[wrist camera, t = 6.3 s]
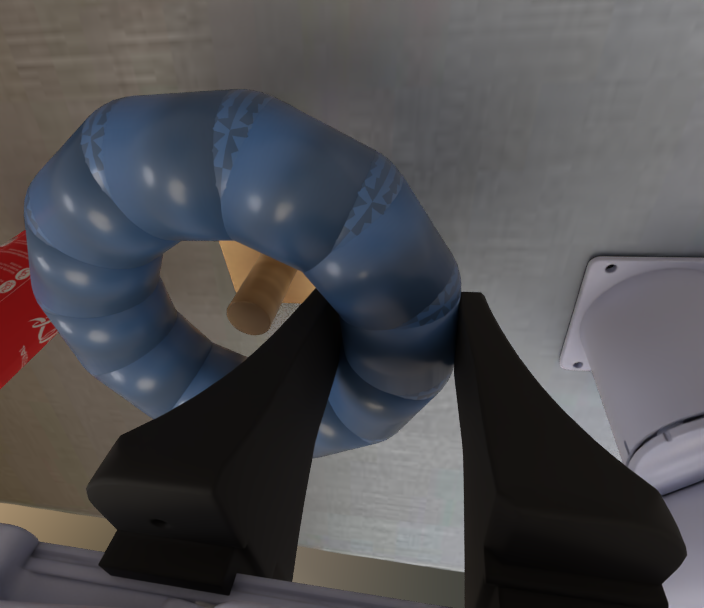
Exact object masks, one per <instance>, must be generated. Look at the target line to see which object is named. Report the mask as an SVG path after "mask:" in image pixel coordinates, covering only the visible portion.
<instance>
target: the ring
mask: <svg viewBox="0 0 704 608" xmlns="http://www.w3.org/2000/svg"><path fill="white" fill-rule="evenodd" d="M24 219H25V229H26V239H27V249H28V259H29V268H30V278H31V286H32V290H33V294H34V296H35V298H36V300H37V303H38V304H39V305H40V307H41V309H42V310H43V311H44V313H45V314H46V316H47V317H48V318H49V320H50V321H51V323H52V324H53V325H54V327H55V328H56V329H57V331H58V332H59V334H60V335H61V336H62V338H63V339H64V341H65V342H66V343H67V345H68V346H69V347H70V349H71V350H72V352H73V353H74V354H75V356H76V357H77V359H78V360H79V361H80V363H81V364H82V365H83V367H84V368H85V369H86V370H87V371H88V372H89V373H90V374H91V375H92V376H94V377H95V378H96V379H98V380H99V381H101V382H102V383H103V384H105V385H106V386H108V387H109V388H110V389H112V390H113V391H115V392H116V393H117V394H119V395H120V396H121V397H123V398H124V399H126V400H127V401H128V402H130V403H131V404H133V405H134V406H135V407H137V408H138V409H140V410H141V411H142V412H144V413H145V414H147V415H148V416H149V417H151V418H152V419H156V418H158V417H159V416H161V415H163V414H165V413H167V412H169V411H171V410H172V409H174V408H176V407H178V406H179V405H181V404H183V403H185V402H186V401H188V400H189V399H191V398H193V397H194V396H196V395H198V394H199V393H201V392H202V391H204V390H205V389H207V388H208V387H210V386H211V385H212V384H214V383H215V382H217V381H218V380H220V379H221V378H223V377H224V376H226V375H227V374H228V373H230V372H231V371H232V370H234V369H235V368H236V367H237V366H239V365H240V364H241V363H242V362H244V361H245V360H246V359H247V358H248V357H246V356H243V355H241V354H239V353H236V352H234V351H232V350H229V349H227V348H224V347H222V346H220V345H217V344H215V343H213V342H211V341H210V340H209V339H208V338H207V337H206V336H205V335H204V334H202V333H201V332H200V331H199V330H198V329H197V328H196V327H195V326H193V325H192V324H191V323H190V322H189V321H188V320H187V319H186V318H184V317H183V316H182V315H181V314H180V313H179V312H178V311H177V310H176V309H175V307H174V305H173V303H172V301H171V299H170V296H169V294H168V292H167V290H166V288H165V286H164V284H163V281H162V279H161V277H160V269H161V263H162V258H163V253H164V252H166V251H167V250H169V249H170V248H172V247H173V246H175V245H176V244H177V243H179V242H180V241H236V242H239V243H241V244H243V245H245V246H247V247H249V248H251V249H254V250H256V251H258V252H260V253H262V254H264V255H267V256H269V257H271V258H273V259H275V260H277V261H280V262H282V263H284V264H286V265H288V266H290V267H292V268H295V269H297V270H299V271H301V272H303V274H304V275H305V276H306V277H307V278H308V279H309V281H310V282H311V283H312V284H313V285H314V286H315V287H316V289H317V290H318V291H319V292H320V293H321V294H322V295H323V297H324V298H325V299H326V300H327V301H328V302H329V303H330V305H331V306H332V307H333V308H334V309H335V310H336V312H337V313H338V314H339V319H340V326H341V332H342V339H343V340H342V343H341V347H340V353H339V362H338V368H337V372H336V375H335V378H334V382H333V385H332V388H331V392H330V395H329V398H328V401H327V405H326V408H325V411H324V414H323V418H322V421H321V424H320V427H319V431H318V435H317V439H316V442H315V447H314V452H313V458H319V457H323V456H327V455H331V454H335V453H339V452H343V451H348V450H352V449H356V448H360V447H364V446H368V445H372V444H376V443H379V442H382V441H384V440H387V439H389V438H390V437H392V436H393V435H394V434H396V433H397V432H398V431H399V430H400V429H401V428H402V427H403V426H405V425H406V424H407V423H408V422H409V421H410V420H411V419H412V418H413V417H414V416H415V415H416V414H417V413H418V412H419V411H420V410H421V409H422V408H423V407H424V406H425V405H426V404H427V403H428V402H429V401H430V400H432V399H433V398H434V397H435V396H436V395H437V394H438V393H439V392H440V391H441V390H442V388H443V387H444V386H445V384H446V383H447V382H448V380H449V378H450V376H451V373H452V371H453V368H454V360H455V349H456V337H457V326H458V315H459V304H460V298H461V277H460V273H459V269H458V265H457V263H456V261H455V259H454V257H453V255H452V253H451V251H450V250H449V248H448V247H447V245H446V243H445V242H444V240H443V239H442V237H441V235H440V234H439V232H438V231H437V229H436V228H435V226H434V224H433V223H432V221H431V220H430V218H429V216H428V215H427V213H426V212H425V210H424V209H423V207H422V205H421V204H420V202H419V201H418V199H417V197H416V196H415V194H414V193H413V191H412V190H411V188H410V186H409V185H408V183H407V182H406V180H405V178H404V177H403V175H402V174H401V173H400V172H399V170H398V169H397V167H396V166H395V165H394V164H393V163H392V162H391V161H390V160H389V159H388V158H386V157H385V156H384V155H382V154H381V153H379V152H377V151H376V150H374V149H372V148H370V147H368V146H367V145H365V144H363V143H361V142H359V141H357V140H355V139H353V138H351V137H350V136H348V135H346V134H344V133H342V132H340V131H338V130H336V129H334V128H332V127H331V126H329V125H327V124H325V123H323V122H321V121H319V120H317V119H315V118H313V117H312V116H310V115H308V114H306V113H304V112H302V111H300V110H298V109H296V108H295V107H293V106H291V105H289V104H287V103H285V102H283V101H281V100H279V99H277V98H275V97H273V96H271V95H269V94H265V93H263V92H258V91H254V90H247V89H230V90H215V91H200V92H185V93H170V94H155V95H140V96H130V97H123V98H120V99H116V100H113V101H111V102H109V103H106V104H104V105H103V106H101V107H100V108H98V109H97V110H95V111H94V112H93V113H92V114H91V115H90V116H89V117H88V118H87V119H86V120H85V121H84V122H83V124H82V125H81V126H80V127H79V128H78V129H77V130H76V131H75V132H74V134H73V135H72V136H71V137H70V138H69V139H68V140H67V141H66V142H65V144H64V145H63V146H62V147H61V148H60V149H59V150H58V151H57V152H56V154H55V155H54V156H53V157H52V158H51V159H50V160H49V161H48V162H47V164H46V165H45V166H44V167H43V168H42V169H41V170H40V171H39V172H38V174H37V175H36V176H35V178H34V179H33V181H32V182H31V183H30V186H29V188H28V190H27V193H26V197H25V201H24Z"/></svg>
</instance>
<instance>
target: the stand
mask: <svg viewBox="0 0 704 608" xmlns="http://www.w3.org/2000/svg"><path fill="white" fill-rule="evenodd" d="M219 243H220V246H221V249H222V252H223V255H224V258H225V261H226V264H227V267H228V270H229V273H230V276H231V279H232V282H233V285H234V288H235V291H236V295H235V296H234V298H233V300H232V301H231V303H230V305H229V306H228V308H227V317H228V319H229V321H230V323H231V324H232V325H233V326H234V327H235V328H236V329H238V330H239V331H241V332H243V333H246V334H250V335H260V334H263V333H265V332H267V331H268V330H269V328H270V327H271V324H272V322H273V320H274V318H275V316H276V314H277V312H278V310H279V308H280V306H281V303H303V302H304V300H305V299H306V298H307V297H308V296H309V295H310V294H311V292H312V291H313V290H314V289H315V288H316V287H315V286H314V285H313V284H312V283H311V282H310V281H309V279H308V278H307V277H306V276H305V275H304V274H303V272H301V271H299V270H297V269H295V268H292V267H290V266H288V265H286V264H284V263H282V262H280V261H277V260H275V259H273V258H271V257H269V256H267V255H264V254H262V253H260V252H258V251H256V250H254V249H251V248H249V247H247V246H245V245H243V244H241V243H239V242H236V241H219Z"/></svg>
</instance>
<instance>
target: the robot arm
mask: <svg viewBox="0 0 704 608" xmlns="http://www.w3.org/2000/svg"><path fill="white" fill-rule="evenodd" d="M612 264H614V266H613V267H612V268H609V269H606V267H607V266H608V265H612ZM342 340H343V339H342V332H341V326H340V319H339V314H338V313H337V312H336V310H335V309H334V308H333V307H332V306H331V305H330V303H329V302H328V301H327V300H326V299H325V298H324V297H323V295H322V294H321V293H320V292H319V291H318V290H317V289H316V288H315V289H314V290H313V291H312V292H311V294H310V295H309V296H308V297H307V298H306V299H305V300H304V302H303V303H302V304H301V305H300V306H299V307H298V308H297V309H296V311H295V312H294V313H293V314H292V315H291V316H290V317H289V318H288V319H287V320H286V321H285V322H284V324H283V325H282V326H281V327H280V328H279V329H278V330H277V331H276V332H275V333H274V334H273V335H272V336H271V337H270V338H269V339H268V340H267V341H266V342H265V343H264V344H262V345H261V346H260V347H259V348H258V349H257V350H256V351H255V352H254V353H253V354H252V355H251V356H249V357H248V358H247V359H246V360H245V361H244V362H242V363H241V364H240V365H239V366H237V367H236V368H235V369H234V370H232V371H231V372H230V373H228V374H227V375H226V376H224V377H223V378H221V379H220V380H218V381H217V382H215V383H214V384H212V385H211V386H210V387H208V388H207V389H205V390H204V391H202V392H201V393H199V394H198V395H196V396H194V397H193V398H191V399H189V400H188V401H186V402H185V403H183V404H181V405H179V406H178V407H176V408H174V409H172V410H171V411H169V412H167V413H165V414H163V415H161V416H159V417H158V418H156V419H154V420H151V421H149V422H147V423H145V424H143V425H141V426H139V427H137V428H135V429H133V430H131V431H129V432H127V433H125V434H123V435H121V436H120V437H119V438H118V440H117V441H116V443H115V444H114V446H113V447H112V448H111V450H110V451H109V453H108V454H107V456H106V457H105V459H104V461H103V462H102V464H101V465H100V467H99V468H98V470H97V471H96V473H95V474H94V476H93V477H92V479H91V480H90V482H89V483H88V486H87V488H86V491H87V495H88V498H89V500H90V502H91V503H92V504H93V506H94V507H95V508H96V509H97V510H98V511H99V512H100V513H101V514H102V515H103V516H104V517H105V518H106V519H107V520H108V521H109V522H110V523H111V524H112V525H113V526H114V527H115V528H116V529H117V532H116V533H115V535H114V537H113V539H112V541H111V542H110V544H109V546H108V548H107V550H106V551H105V552H101V551H94V550H88V549H82V548H76V547H70V546H63V545H57V544H51V543H44V542H39V541H38V539H37V538H36V537H35V536H34V535H33V534H31V533H30V532H28V531H27V530H25V529H23V528H21V527H18V526H15V525H10V524H4V523H0V608H451V607H444V606H438V605H432V604H426V603H420V602H413V601H407V600H401V599H394V598H388V597H382V596H376V595H369V594H363V593H357V592H351V591H344V590H339V589H332V588H326V587H320V586H314V585H307V584H300V583H295V582H292V579H293V572H294V565H295V558H296V551H297V544H298V538H299V531H300V525H301V519H302V513H303V507H304V501H305V495H306V490H307V484H308V479H309V473H310V468H311V463H312V458H313V452H314V447H315V442H316V439H317V435H318V431H319V427H320V424H321V421H322V418H323V414H324V411H325V408H326V405H327V401H328V398H329V395H330V392H331V388H332V385H333V382H334V378H335V375H336V372H337V368H338V362H339V353H340V347H341V343H342ZM576 362H579V363H576ZM559 363H560V366H561V368H563V369H567V370H581V371H592V374H593V377H594V380H595V383H596V386H597V388H598V391H599V394H600V397H601V400H602V403H603V406H604V409H605V412H606V415H607V418H608V421H609V424H610V427H611V430H612V433H613V436H614V438H615V441H616V444H617V447H618V450H619V453H620V456H621V459H622V462H623V463H621V462H620V461H619V460H617V459H616V458H615V457H614V456H613V455H611V454H610V453H609V452H608V451H607V450H605V449H604V448H603V447H602V446H601V445H600V444H598V443H597V442H596V441H595V440H594V439H593V438H592V437H591V436H590V435H589V434H588V433H586V432H585V431H584V430H583V429H582V428H581V427H580V426H579V425H578V424H577V423H576V422H575V421H574V420H573V419H572V418H571V417H570V416H569V415H568V414H567V413H566V412H565V411H564V410H563V409H562V408H561V407H560V406H559V405H558V404H557V403H556V402H555V401H554V400H553V399H552V398H551V396H550V395H549V394H548V393H547V392H546V391H545V390H544V388H543V387H542V386H541V385H540V384H539V383H538V381H537V380H536V379H535V378H534V376H533V375H532V374H531V372H530V371H529V370H528V369H527V367H526V366H525V364H524V363H523V362H522V360H521V359H520V358H519V356H518V355H517V353H516V352H515V350H514V349H513V347H512V346H511V344H510V343H509V341H508V340H507V338H506V336H505V335H504V333H503V332H502V330H501V328H500V326H499V325H498V323H497V321H496V319H495V317H494V316H493V314H492V312H491V310H490V308H489V306H488V303H487V301H486V299H485V296H484V295H483V294H482V293H481V292H461V298H460V304H459V315H458V326H457V337H456V349H455V360H454V377H455V386H456V395H457V403H458V411H459V420H460V428H461V437H462V447H463V471H464V545H465V608H704V258H691V257H610V256H600V257H595V258H593V259H592V260H591V261H589V263H588V265H587V268H586V272H585V275H584V279H583V282H582V285H581V289H580V292H579V295H578V299H577V302H576V305H575V309H574V312H573V315H572V319H571V322H570V325H569V329H568V332H567V335H566V339H565V342H564V345H563V349H562V352H561V355H560V359H559Z"/></svg>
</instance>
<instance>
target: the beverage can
mask: <svg viewBox="0 0 704 608" xmlns="http://www.w3.org/2000/svg"><path fill="white" fill-rule="evenodd" d="M57 333H58V331H57V329H56V328H55V327H54V325H53V324H52V323H51V321H50V320H49V318H48V317H47V316H46V314H45V313H44V311H43V310H42V309H41V307H40V305H39V304H38V303H37V300H36V298H35V296H34V294H33V290H32V286H31V278H30V268H29V259H28V249H27V239H26V230H24V231H23V232H21V233H20V234H18V235H17V236H15V237H14V238H12V239H11V240H9V241H8V242H6V243H5V244H3V245H2V246H0V389H1V388H2V387H3V386H4V385H5V384H6V383H7V382H8V381H9V380H10V379H11V378H12V377H13V376H14V375H15V374H16V373H17V372H18V371H19V370H20V369H21V368H22V367H23V366H24V365H25V364H27V363H28V362H29V361H30V360H31V359H32V358H33V357H34V356H35V355H36V354H37V353H38V352H39V351H40V350H41V349H42V348H43V347H44V346H45V345H46V344H47V343H48V342H49V341H50V340H51V339H52V338H53V337H54V336H55V335H56V334H57Z"/></svg>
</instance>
